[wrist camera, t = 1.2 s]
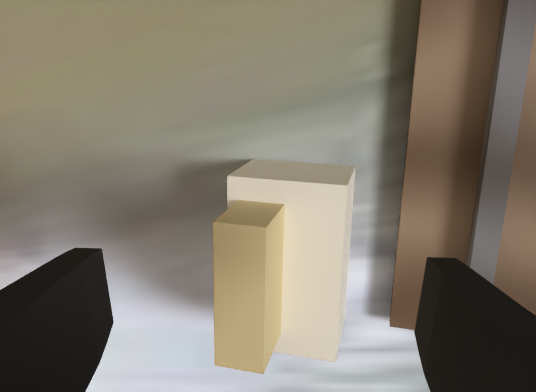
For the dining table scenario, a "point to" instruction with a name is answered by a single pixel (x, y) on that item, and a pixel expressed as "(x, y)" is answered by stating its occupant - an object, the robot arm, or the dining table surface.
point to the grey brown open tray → (470, 150)
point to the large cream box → (281, 262)
